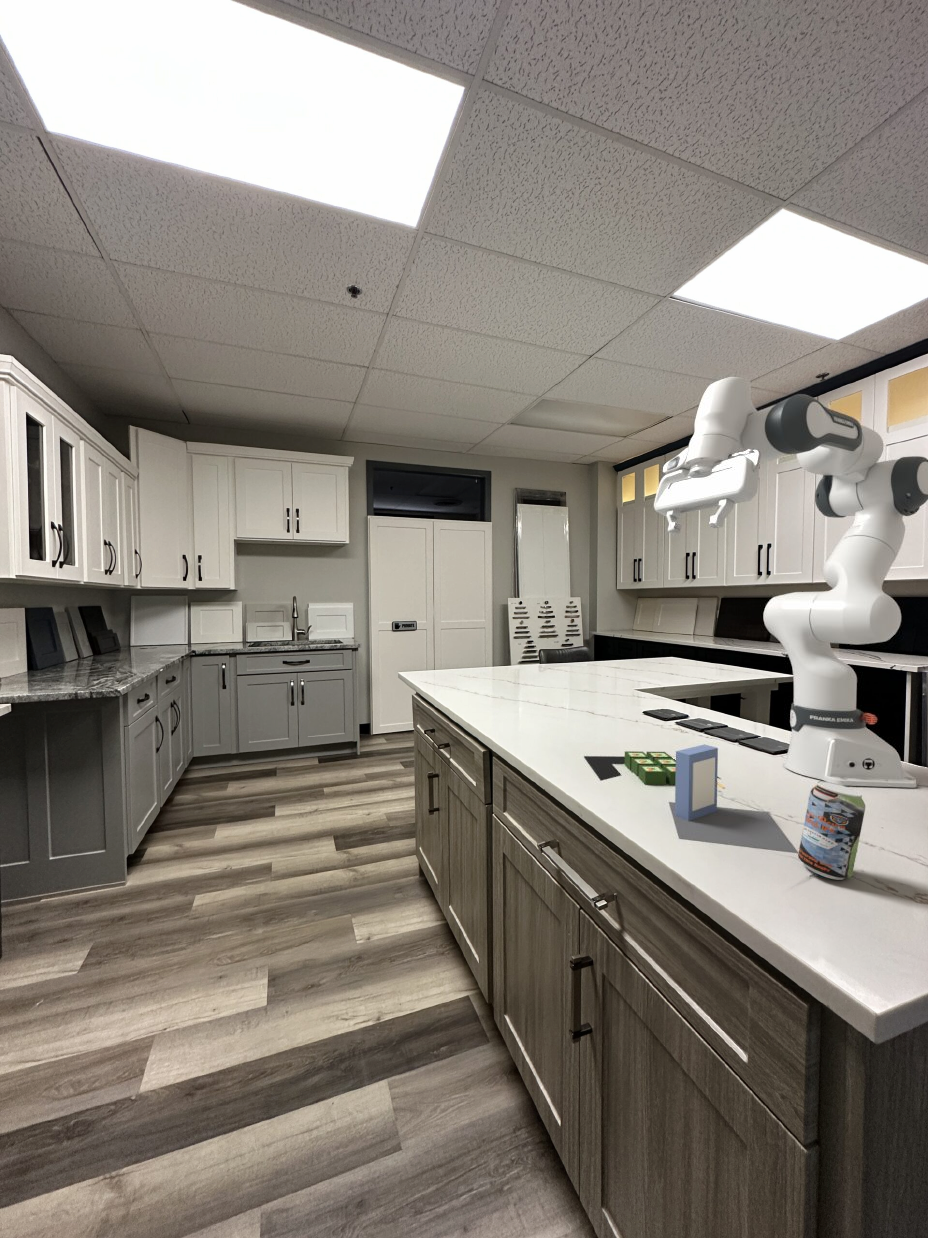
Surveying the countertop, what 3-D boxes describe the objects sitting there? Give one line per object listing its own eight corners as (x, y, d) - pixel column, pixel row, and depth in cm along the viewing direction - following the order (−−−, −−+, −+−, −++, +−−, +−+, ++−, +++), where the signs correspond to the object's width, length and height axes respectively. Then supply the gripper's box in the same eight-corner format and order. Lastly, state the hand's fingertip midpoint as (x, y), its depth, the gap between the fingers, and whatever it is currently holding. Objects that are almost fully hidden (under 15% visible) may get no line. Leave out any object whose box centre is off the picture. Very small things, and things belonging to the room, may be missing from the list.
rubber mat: (768, 814, 88) (768, 812, 88) (798, 855, 73) (798, 853, 73) (668, 804, 92) (668, 802, 92) (678, 841, 78) (679, 838, 78)
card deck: (675, 815, 86) (675, 751, 86) (703, 805, 90) (704, 744, 90) (689, 821, 84) (690, 755, 84) (717, 811, 88) (718, 748, 88)
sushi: (746, 801, 95) (747, 782, 95) (612, 800, 96) (612, 780, 96) (690, 760, 120) (690, 745, 120) (583, 759, 121) (583, 744, 121)
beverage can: (787, 862, 71) (789, 778, 71) (836, 860, 72) (838, 776, 72) (822, 887, 65) (824, 794, 65) (875, 885, 66) (878, 793, 65)
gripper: (774, 453, 88) (756, 529, 86) (679, 478, 106) (663, 541, 105) (751, 437, 85) (732, 515, 84) (657, 466, 104) (641, 530, 102)
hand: (693, 530), depth 95 cm, fingers open, 8 cm apart
